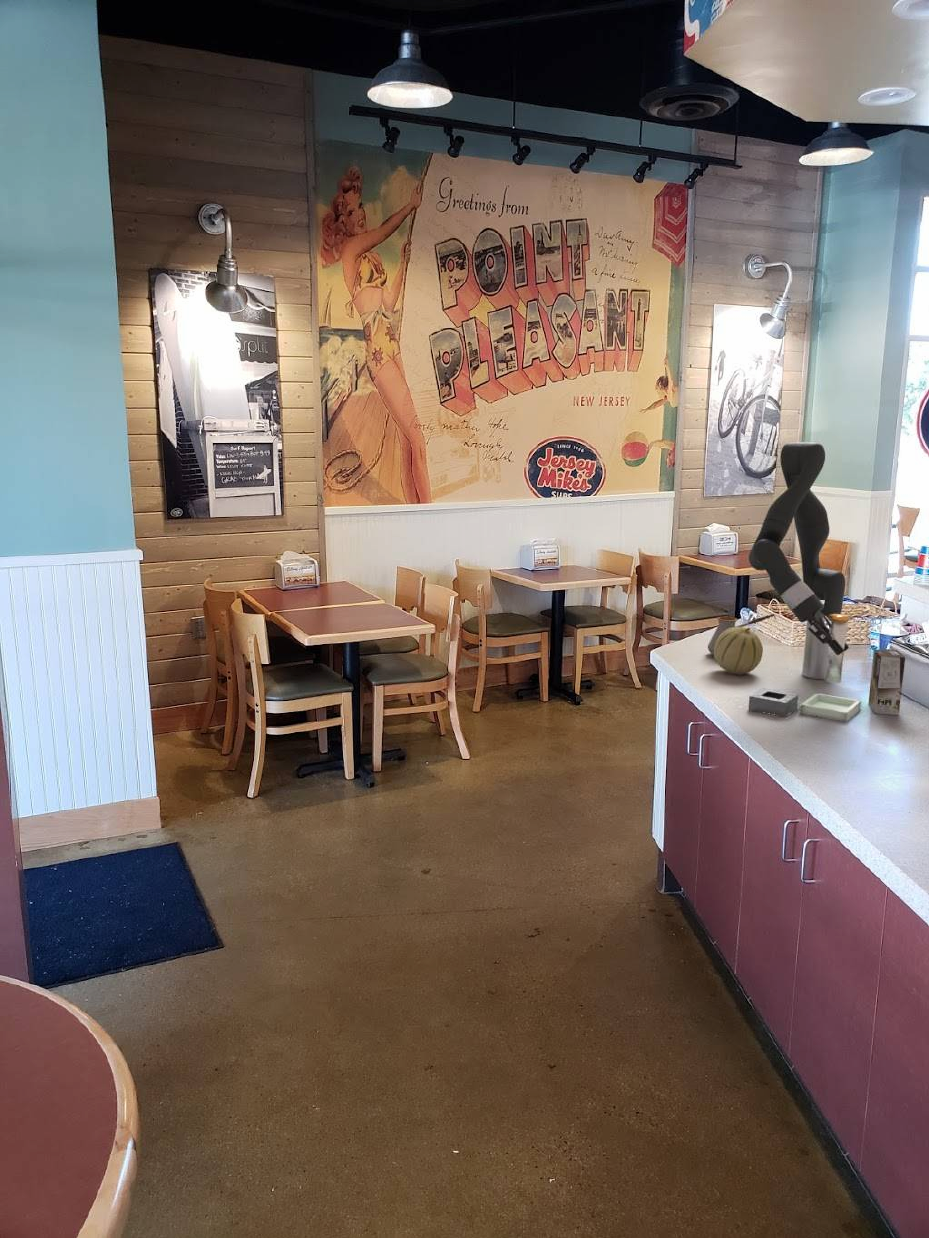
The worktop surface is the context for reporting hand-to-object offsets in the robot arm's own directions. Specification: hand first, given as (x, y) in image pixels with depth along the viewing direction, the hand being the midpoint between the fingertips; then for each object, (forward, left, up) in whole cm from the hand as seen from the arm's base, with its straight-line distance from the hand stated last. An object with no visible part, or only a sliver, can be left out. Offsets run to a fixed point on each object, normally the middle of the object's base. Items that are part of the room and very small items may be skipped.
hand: (843, 651), depth 253 cm
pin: (0, -2, -9) cm, 9 cm away
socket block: (+8, -15, -17) cm, 24 cm away
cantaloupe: (-22, -37, -17) cm, 46 cm away
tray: (0, -2, -17) cm, 17 cm away
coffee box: (-11, +9, -17) cm, 22 cm away
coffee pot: (-43, -44, -17) cm, 64 cm away
